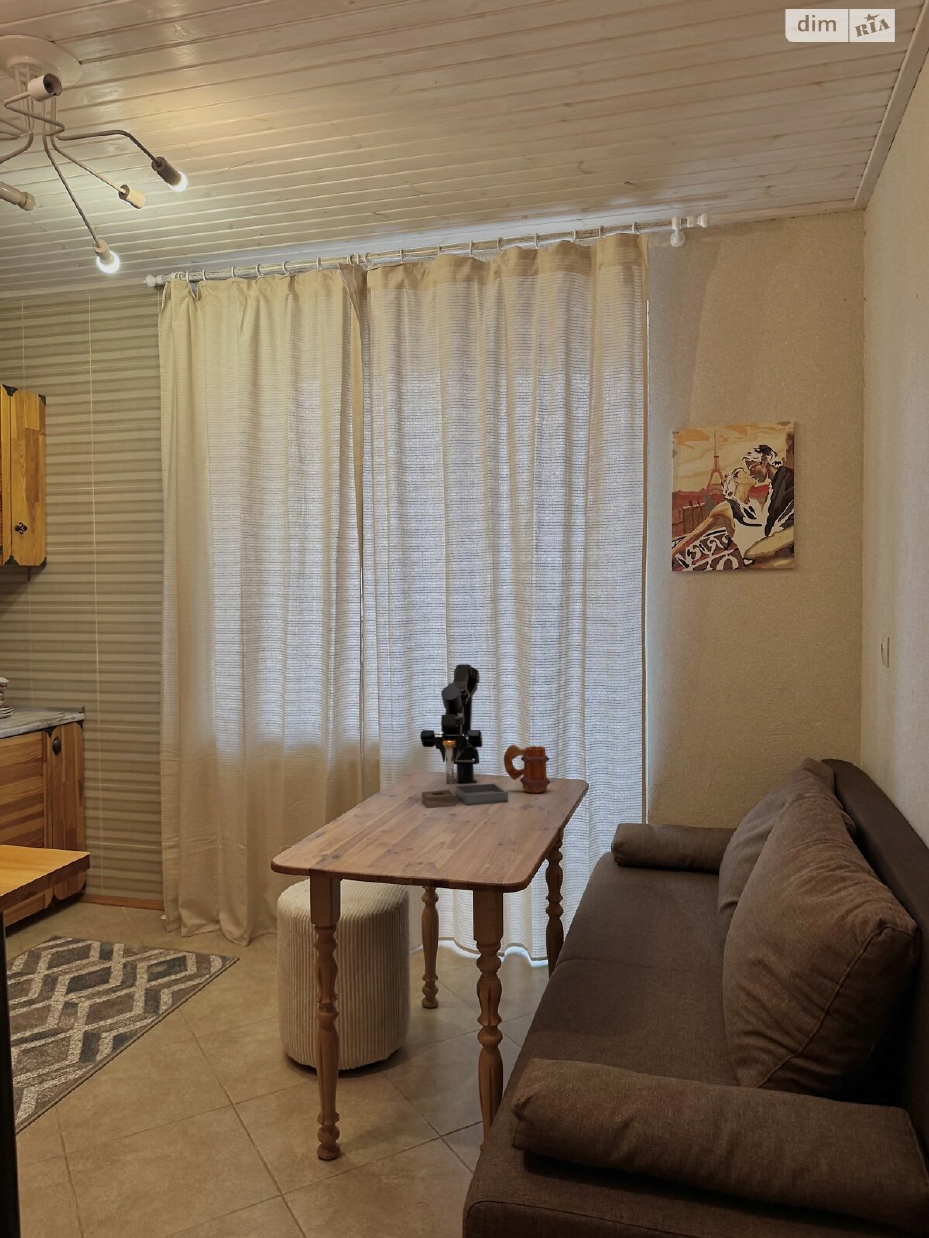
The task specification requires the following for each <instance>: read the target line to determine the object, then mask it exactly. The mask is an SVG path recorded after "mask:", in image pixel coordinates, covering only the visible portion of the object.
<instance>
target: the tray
mask: <svg viewBox="0 0 929 1238" xmlns="http://www.w3.org/2000/svg"><path fill="white" fill-rule="evenodd" d="M455 797H456V798H458V799H459V800H460V801H461V802H462V803H463V804H464V805H465V804H466V805H465V806H475V804H478V805H486V804H487V805H488V804H498V803H499V804H501V803H500V802H503V803H509V792H508V791H507V790H505V789H504V788H503V787H501V786H500V785H499V784H497V783H481V784H480V783H479V784H469V785H467V784H466V785H465V784H464V785H455Z"/></svg>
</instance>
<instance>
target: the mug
mask: <svg viewBox="0 0 929 1238" xmlns="http://www.w3.org/2000/svg"><path fill="white" fill-rule="evenodd" d="M519 756H521V757H520V760H521V761H522V762H524V763H523V768H521V769H517V768H516V767H515V766H514V762H513V760H514V759H516V758H517V757H519ZM548 761H550V757H548V755H546V748H545V746H542V745H539V746H536V745H530V746H526V747H525V748H520V747H519V746H518V745H516V744H511V745H509V746H508V748H506V751H505V752H504V755H503V765H504V769H505V771H506V773H507V774H508V776H509V777H510V778H511V779H512V780H514V781H515V780H517V779H519V778H520V777H521V778H520V779H519V780H520V783H522V789H523V790H524V791H526V792H528V793H531V794H532V793H533V794H540V793H539V792H541V793H543V792H544V791H546V790H548V785H550V784H551V780H549V778H547V762H548Z"/></svg>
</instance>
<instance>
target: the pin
mask: <svg viewBox="0 0 929 1238" xmlns="http://www.w3.org/2000/svg"><path fill="white" fill-rule="evenodd" d="M443 745H445V783H446V784H445V785H448V786H449V785H450V786H451V785H454V784H455V780H454V779H455V764H454V758H453V745H456V740H452V739H448V740H443Z"/></svg>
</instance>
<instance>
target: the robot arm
mask: <svg viewBox="0 0 929 1238" xmlns="http://www.w3.org/2000/svg"><path fill="white" fill-rule="evenodd" d="M480 678H481V677H480V672H479V669H477V668H475V667H473V666H472V664H468V663H467V664H466V663H465V664H463V663H462V664H456V666H455V669H454V670H453V681H452V682H450V683H449V682H448V684H447V686H445V687H444V688H442V690H441V692H440V693H441V695H440V696H441V700H442V704H443V707H444V709H445V714H442V715H441V716H440V720H441V721H440V726H441V730H440V731H441V732H435V730H434V729H430V730H429V729H423V730H422V731H420V741H421V745H422V747H423V748H434V747H435V749H437V750H439V751H440V754H441V759H442V762H443V763H446V753H445V745H443V740H448V739H452V740H456V745H453V758H454V765H456V778H455V777H454V782H456V783H457V784H471V783H477V782H478V781H477V779H475V777H474V776H475V774H474V772H475V771H474V765H478V764H480V754H479V750H478V748H481V747H483V735H482V731H481V730H480V729H472V721H473V719H472V717H473V696H474V695H475V693H476V692H477V691H478V685H479V683H480V680H481V679H480Z"/></svg>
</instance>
